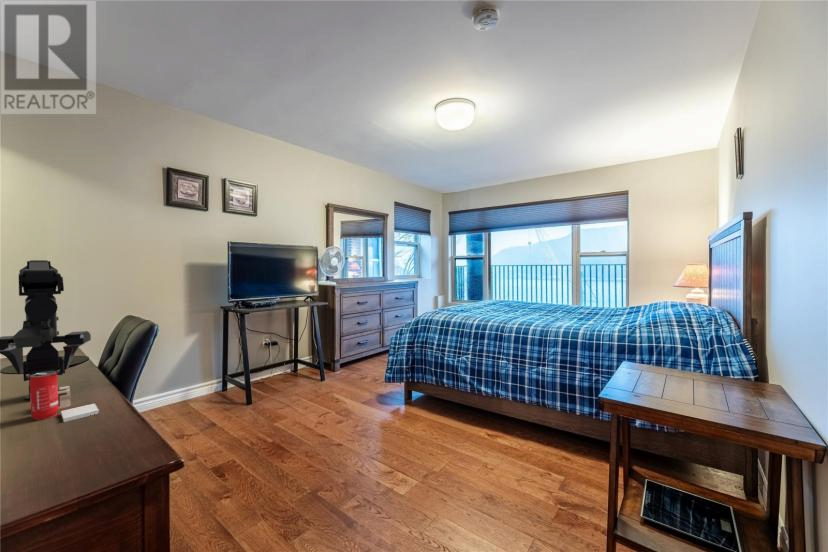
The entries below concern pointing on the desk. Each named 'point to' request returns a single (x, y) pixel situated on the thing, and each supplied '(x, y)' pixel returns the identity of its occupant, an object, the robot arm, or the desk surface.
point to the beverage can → (44, 395)
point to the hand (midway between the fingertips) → (43, 371)
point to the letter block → (64, 397)
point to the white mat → (79, 412)
